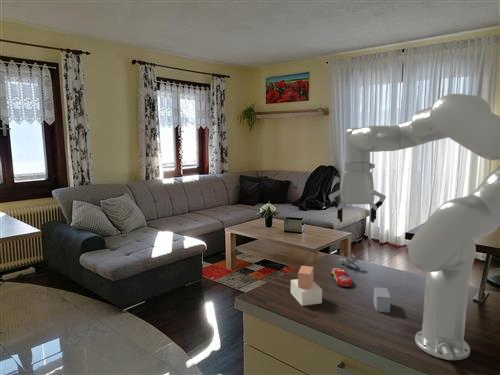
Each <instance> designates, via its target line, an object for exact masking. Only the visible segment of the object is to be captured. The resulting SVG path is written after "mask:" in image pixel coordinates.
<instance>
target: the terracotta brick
mask: <svg viewBox="0 0 500 375" xmlns="http://www.w3.org/2000/svg"><path fill="white" fill-rule="evenodd" d="M297 279H298V288H306V289H310V288H311V285H312V282H313V281H314V266H310V265H300V268H299V270H298V273H297Z"/></svg>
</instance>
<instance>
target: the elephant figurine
mask: <svg viewBox="0 0 500 375" xmlns="http://www.w3.org/2000/svg"><path fill="white" fill-rule="evenodd" d="M340 256H342V257H343V258H339V259H338V262H341V265H343V264H344V265H343V266H342V268H344V267H345V266H350V265H353V266H355V268H357V269H360V266H359V264H356V263H358V262H359V261H358V259H357V258H356V255H354V253H352V255H350V256H349V257H347V256H346V255H345V253H344V252H342V253H341V254H340ZM355 262H356V263H355Z"/></svg>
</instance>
